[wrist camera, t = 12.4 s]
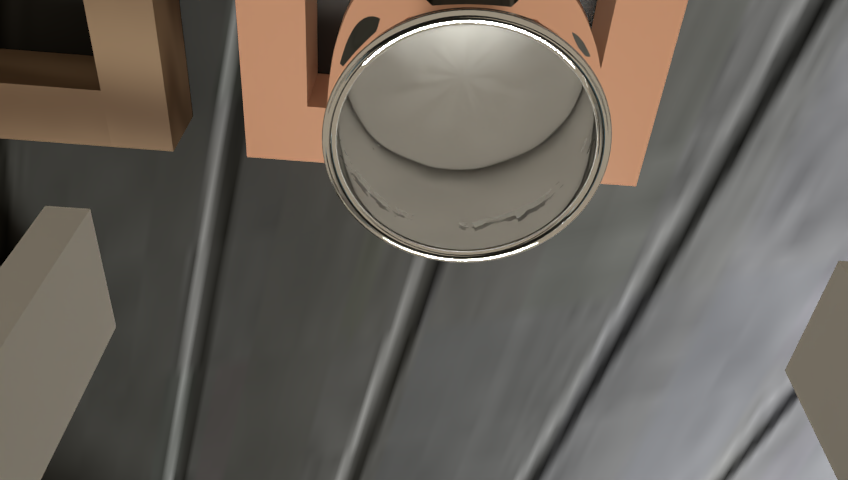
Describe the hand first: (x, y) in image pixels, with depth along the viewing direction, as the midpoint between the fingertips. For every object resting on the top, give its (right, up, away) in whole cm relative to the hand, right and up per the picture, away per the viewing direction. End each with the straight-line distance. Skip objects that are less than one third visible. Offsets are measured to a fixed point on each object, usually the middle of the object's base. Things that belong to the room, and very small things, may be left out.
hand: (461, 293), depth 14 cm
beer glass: (+1, +12, +16) cm, 20 cm away
